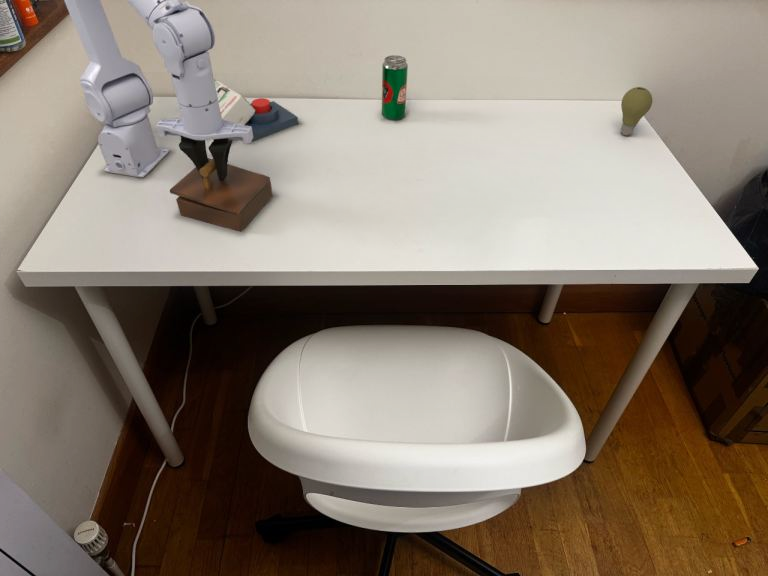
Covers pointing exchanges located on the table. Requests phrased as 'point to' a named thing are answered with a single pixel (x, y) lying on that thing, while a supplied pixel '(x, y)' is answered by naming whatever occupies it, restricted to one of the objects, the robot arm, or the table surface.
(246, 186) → the chest lid
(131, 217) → the table surface
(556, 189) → the table surface
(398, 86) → the soda can
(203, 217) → the chest
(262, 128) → the box
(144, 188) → the table surface
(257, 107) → the button
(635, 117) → the light bulb
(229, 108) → the ink box
